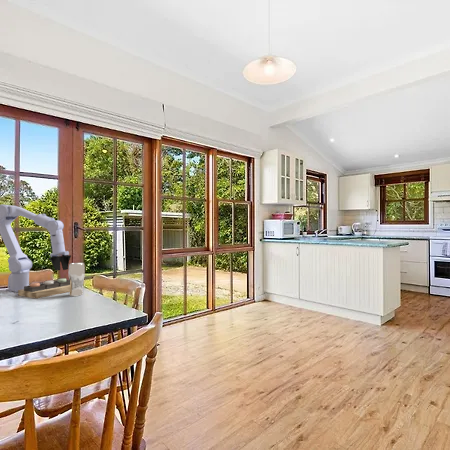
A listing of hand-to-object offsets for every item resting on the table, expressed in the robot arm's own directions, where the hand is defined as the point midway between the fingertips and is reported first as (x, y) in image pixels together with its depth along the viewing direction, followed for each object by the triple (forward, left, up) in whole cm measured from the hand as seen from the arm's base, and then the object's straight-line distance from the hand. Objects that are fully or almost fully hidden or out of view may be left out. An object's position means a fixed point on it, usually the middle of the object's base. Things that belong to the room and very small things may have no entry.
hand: (61, 270), depth 157 cm
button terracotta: (-1, -13, -7) cm, 15 cm away
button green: (-1, +1, -7) cm, 7 cm away
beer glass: (+15, -3, -11) cm, 19 cm away
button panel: (-1, -6, -10) cm, 12 cm away
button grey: (-1, -6, -7) cm, 9 cm away
